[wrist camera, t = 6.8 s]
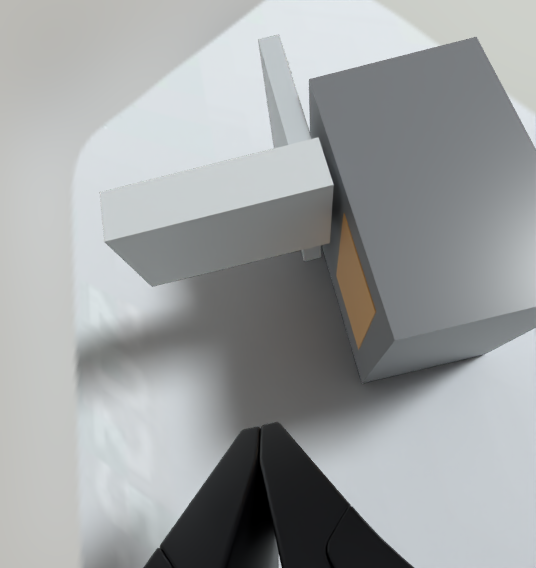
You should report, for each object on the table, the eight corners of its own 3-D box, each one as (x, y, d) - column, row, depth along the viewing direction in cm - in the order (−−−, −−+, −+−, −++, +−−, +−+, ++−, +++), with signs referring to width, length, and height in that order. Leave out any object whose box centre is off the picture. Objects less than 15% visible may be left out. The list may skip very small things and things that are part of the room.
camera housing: (484, 354, 18) (609, 288, 10) (361, 383, 18) (393, 340, 10) (410, 168, 21) (463, 13, 13) (305, 194, 21) (299, 54, 13)
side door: (327, 279, 18) (333, 184, 11) (182, 315, 18) (104, 241, 11) (289, 148, 20) (276, 5, 13) (161, 181, 20) (86, 54, 14)
